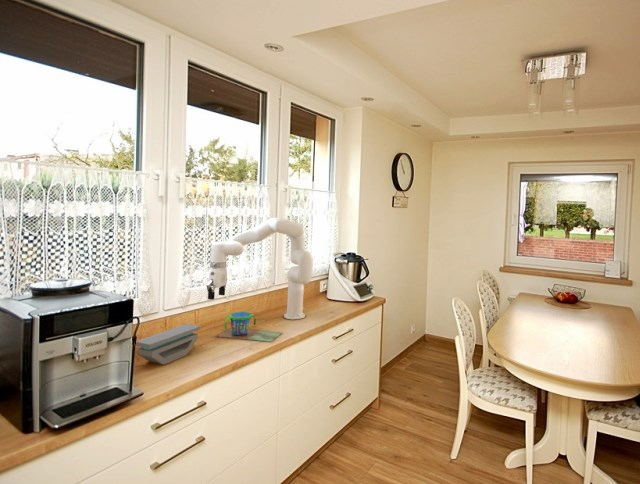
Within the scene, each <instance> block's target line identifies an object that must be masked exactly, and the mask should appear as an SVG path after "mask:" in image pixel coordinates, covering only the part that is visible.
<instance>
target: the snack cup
mask: <svg viewBox="0 0 640 484" xmlns="http://www.w3.org/2000/svg"><path fill="white" fill-rule="evenodd" d="M252 317H253V318H254V319H253V326H256V325H257V318H256V316H255V315H254V314H253V313H251V312H249V311H236V312H232V313H231V314H230V315H228V316H227V317H226V319H225V320H224V324H223V327H224V330H227V322H228V321H229V320H230V328H232V334H234V335H243V334H246V333H247V332H248V330H249V327H250V322H251V319H252Z"/></svg>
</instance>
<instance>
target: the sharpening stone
mask: <svg viewBox="0 0 640 484" xmlns="http://www.w3.org/2000/svg"><path fill="white" fill-rule="evenodd" d="M200 330H201V326H200V325H196V324H195V325H194V324H190V323H186V324H183V325H182V324H181V325H180V326H177V327H174V328H171V329H167V330H165V331H162V332H159V333H156V334H153V335H150V336H147V337H144V338H142V339H138V340H135V341H136V346H135V347H138V348H137V349H136V354H137V355H138V356H140V357H141V358H143V359H145V360H146V361H148V362H150V363H155V364H159V365H163V366H164V365H167V364H169V363H171V362H174V361H176V360H178V359H181V358H182V357H185V356H187V355H188V354H189V353H190V351H191V349H192V348H193V347H194V346H195V343H196V342H197V341H198V339H199V334H198V333H195V332H198V331H200Z"/></svg>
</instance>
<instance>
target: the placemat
mask: <svg viewBox="0 0 640 484" xmlns="http://www.w3.org/2000/svg"><path fill="white" fill-rule="evenodd" d="M281 334H282V332H279V331H268V330H256V329H248V332H247V333H246V334H243V335H234V334H232V327H230V328H228V329H225V330H224V331H223V332H221V333H219V334H218V335H216V338H222V339H234V340H245V341H246V340H247V341H257V342H267V343H272V342H273V341H275V339H277V338H278V337H279V336H280V335H281Z"/></svg>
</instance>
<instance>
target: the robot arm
mask: <svg viewBox="0 0 640 484" xmlns="http://www.w3.org/2000/svg"><path fill="white" fill-rule="evenodd" d="M275 233H279V234H283V235H287V237H288V238H289V240H290V258H289V259H290V262H291V263H292V264H294V266H291V267H290V268H289V269H288V271H287V275H286V277H287V301H286V302H287V304H286V313H284V314H283V318H284V319H285V320H294V321H295V320H302V319H304V318H305V317H306V314H305V313H304V312H303V311H304V295H305V294H304V293H305V285H307V284H309V283H310V282H311V280H312V278H313V265H314V258H313V255H312V253H311V252H309V251H307V250H306V238H305V236H304V233H305V227H304V225H303V224H302V223H300V222H296V221H294V220H288V219H286V218H282V217H274V216H273V217H271V218H269V219H266V220H265V221H263V222H261V223H260V224H258V225H256V226H254V227H252V228H250V229H247V230H245V231H243V232H240V233H238V234H236V235H234V236H232V237H230V238H228V239H226V240H225V241H213V242H211V247H210V248H211V249H210V264H209V265H210V266H209V268H210V269H209V274H208V282H207V283H206V285H205V286H206V290H207V300H212V301H213V300H215V290H216V289H218V295H219V296H226V287H227V284H228V271H227V257H228V256H232V257H233V256H234V257H236V256H241V255H242V254H243V253H244V250H245V247H244V246H246V245H249V244H254V243H259V242H262V241H263V240H266V239H267V238H269V237H270V236H272V235H273V234H275Z"/></svg>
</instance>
